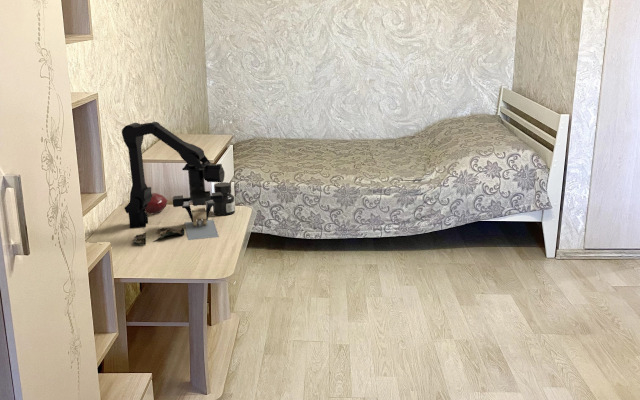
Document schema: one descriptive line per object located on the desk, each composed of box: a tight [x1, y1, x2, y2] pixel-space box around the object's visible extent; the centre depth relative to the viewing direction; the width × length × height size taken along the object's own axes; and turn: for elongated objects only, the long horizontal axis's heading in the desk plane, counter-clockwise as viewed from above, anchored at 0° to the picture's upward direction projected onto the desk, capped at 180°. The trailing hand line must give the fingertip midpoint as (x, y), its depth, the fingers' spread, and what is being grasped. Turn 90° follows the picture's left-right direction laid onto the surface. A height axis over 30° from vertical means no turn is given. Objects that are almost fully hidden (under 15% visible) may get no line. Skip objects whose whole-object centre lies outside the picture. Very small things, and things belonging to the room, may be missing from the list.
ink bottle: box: [212, 181, 236, 216], centre depth 267 cm, size 10×9×12 cm
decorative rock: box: [132, 227, 185, 246], centre depth 240 cm, size 19×6×15 cm
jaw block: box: [191, 207, 207, 226], centre depth 250 cm, size 5×6×5 cm
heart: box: [145, 192, 168, 215], centre depth 271 cm, size 12×8×10 cm
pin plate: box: [184, 219, 220, 241], centre depth 245 cm, size 11×21×4 cm, turn 14°
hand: (199, 221), depth 250 cm, fingers closed on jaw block, 5 cm apart
